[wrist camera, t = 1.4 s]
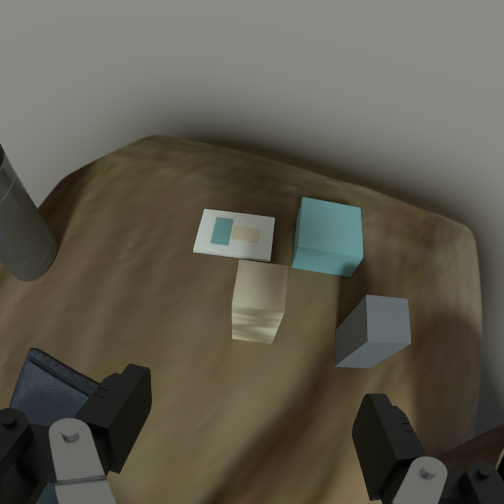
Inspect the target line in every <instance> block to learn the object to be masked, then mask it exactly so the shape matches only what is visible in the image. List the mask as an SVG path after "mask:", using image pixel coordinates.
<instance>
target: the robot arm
mask: <svg viewBox="0 0 504 504" xmlns="http://www.w3.org/2000/svg"><path fill="white" fill-rule="evenodd" d="M56 253H57V239H56V237H55V235H54V234H53V232H52V231H51V229H50V228H49V226H48V225H47V223H46V222H45V220H44V218H43V217H42V215H41V214H40V212H39V211H38V209H37V207H36V206H35V204H34V203H33V201H32V200H31V198H30V196H29V195H28V193H27V191H26V189H25V188H24V186H23V184H22V183H21V181H20V179H19V177H18V176H17V174H16V172H15V171H14V169H13V167H12V165H11V163H10V162H9V160H8V158H7V156H6V154H5V152H4V150H3V148H2V146H1V144H0V261H1V262H2V264H3V265H4V266H5V267H6V268H7V269H8V270H9V271H10V272H11V273H12V274H13V275H14V276H15V277H16V278H18V279H19V280H22V281H30V280H33V279H35V278H38V277H39V276H41V275H42V274H43V273H44V272H45V271H46V270H47V269H48V268H49V267H50V265H51V264H52V262H53V260H54V258H55V256H56ZM151 405H152V393H151V375H150V369H149V368H147V367H142V366H138V365H134V364H129V365H128V366H127V367H126V368H125V370H124V371H123V372H122V374H118V373H114V374H112V375H110V376H108V377H106V378H104V380H103V381H102V382H101V383H100V385H99V386H98V388H96V390H95V391H94V392H93V394H92V395H91V396H90V397H89V398H88V400H87V401H86V402H85V403H84V405H83V406H82V407H81V409H80V410H79V411H78V412H77V414H76V415H75V416H74V417H73V418H66V419H61V420H58V421H56V422H55V423H54V424H53V425H52V426H43V425H37V424H32V423H29V421H28V419H27V416H26V415H25V414H24V413H23V412H22V411H20V410H18V409H15V408H5V409H2V410H0V504H36V503H37V501H38V499H39V497H40V495H41V494H42V492H43V490H44V488H45V487H46V485H47V483H53V484H55V490H56V494H57V498H58V502H59V504H117V503H116V501H115V499H114V496H113V494H112V491H111V489H110V486H109V484H108V481H107V479H106V476H107V474H108V472H109V470H110V471H112V472H115V473H118V474H120V472H121V470H122V468H123V465H124V463H125V461H126V459H127V457H128V455H129V453H130V451H131V449H132V447H133V445H134V443H135V441H136V439H137V437H138V435H139V433H140V431H141V429H142V427H143V425H144V423H145V421H146V419H147V417H148V415H149V413H150V410H151ZM352 438H353V441H354V445H355V448H356V452H357V455H358V459H359V462H360V466H361V470H362V473H363V477H364V481H365V484H366V488H367V492H368V495H369V499H370V501H373V500H382V504H504V482H503V480H502V478H501V476H500V474H499V473H498V471H497V469H496V468H495V467H494V466H493V465H492V464H491V463H489V462H487V461H483V460H478V461H474V462H472V463H471V464H470V465H469V466H468V467H467V469H466V470H465V471H459V470H447V469H446V467H445V465H444V464H443V463H442V462H441V461H439V460H438V459H435V458H433V457H427V455H426V453H425V451H424V449H423V447H422V445H421V443H420V441H419V439H418V437H417V435H416V433H415V432H414V430H413V428H412V426H411V425H410V422H409V420H408V418H407V416H406V414H405V413H404V412H403V411H402V410H400V409H399V408H398V407H397V406H392V405H391V403H390V401H389V399H388V397H387V395H386V394H366V395H365V396H364V398H363V401H362V403H361V406H360V408H359V411H358V413H357V416H356V418H355V421H354V423H353V428H352Z"/></svg>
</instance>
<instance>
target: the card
mask: <svg viewBox="0 0 504 504" xmlns="http://www.w3.org/2000/svg"><path fill="white" fill-rule="evenodd" d="M274 222H275V218H274V217H266V216H259V215H251V214H243V213H235V212H227V211H219V210H210V209H204V212H203V216H202V219H201V223H200V227H199V230H198V234H197V238H196V241H195V245H194V249H193V251H194V252H198V253H206V254H213V255H221V256H228V257H235V258H243V259H250V260H258V261H265V262H270V259H271V250H272V241H273V231H274Z"/></svg>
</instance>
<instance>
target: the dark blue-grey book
mask: <svg viewBox="0 0 504 504" xmlns="http://www.w3.org/2000/svg"><path fill="white" fill-rule="evenodd" d="M99 385H100V384H99V383H97V382H95V381H93V380H91V379H89V378H87V377H85V376H84V375H82V374H80V373H78V372H76V371H75V370H73V369H71V368H69V367H67V366H66V365H64V364H62V363H61V362H59V361H57V360H55V359H54V358H52V357H50V356H49V355H47V354H45V353H44V352H42V351H40V350H38V349H30V350H29V353H28V355H27V357H26V359H25V362H24V364H23V367H22V369H21V372H20V375H19V378H18V380H17V383H16V386H15V389H14V392H13V395H12V398H11V401H10V405H9V408H15V409H18V410H20V411H22V412H23V413H24V414H25V415H26V416H27V419H28V421H29V423H32V424H37V425H43V426H52V425H53V424H54V423H55V422H56V421H58V420H61V419H66V418H73V417H74V416H75V415H76V414H77V412H78V411H79V410H80V409H81V407H82V406H83V405H84V403H85V402H86V401H87V400H88V398H89V397H90V396H91V395H92V394H93V392H94V391H95V390H96V388H98V386H99ZM37 503H38V504H59V502H58V498H57V494H56V490H55V484H53V483H47V485H46V487H45V488H44V490H43V492H42V494H41V495H40V497H39V499H38V501H37Z"/></svg>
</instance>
